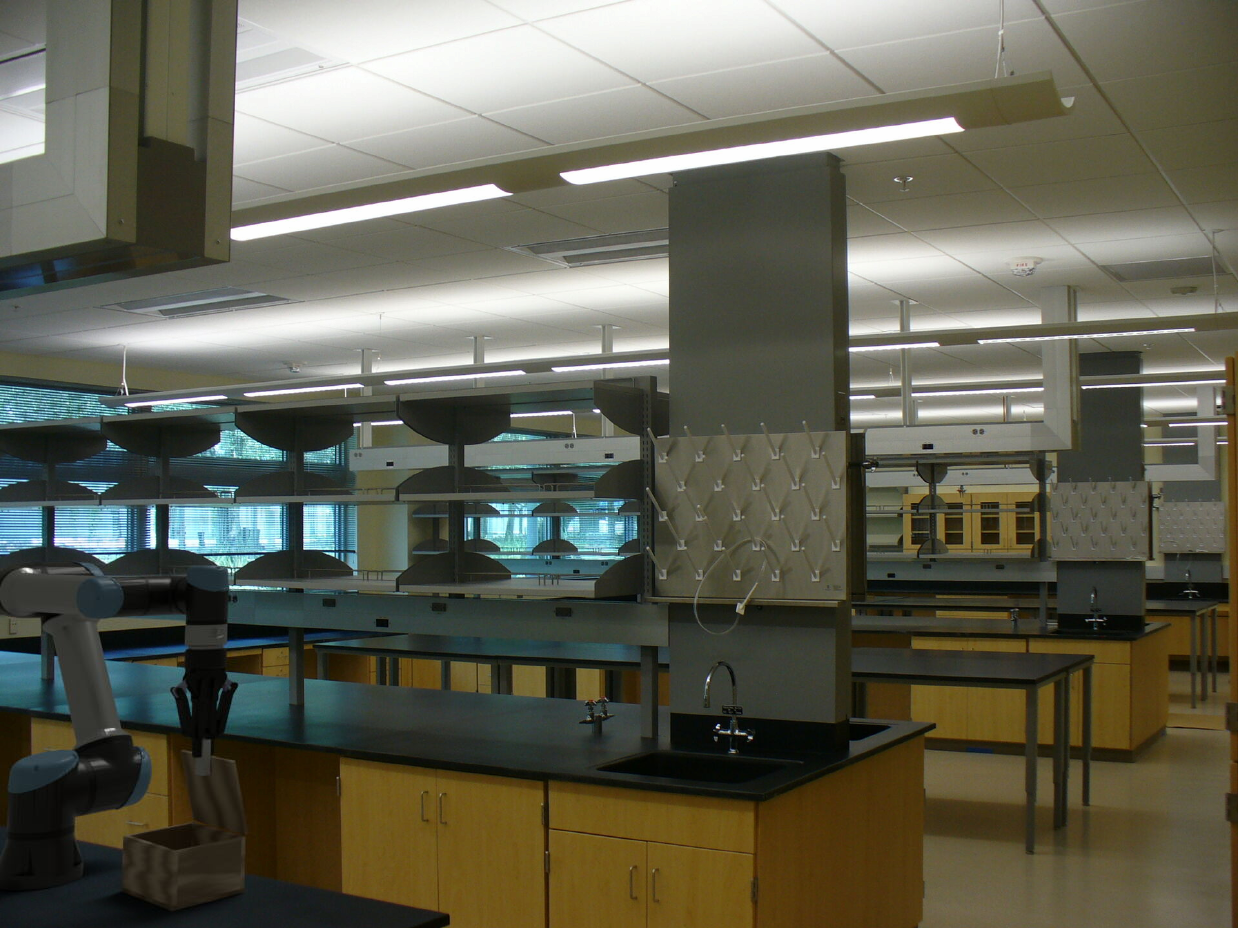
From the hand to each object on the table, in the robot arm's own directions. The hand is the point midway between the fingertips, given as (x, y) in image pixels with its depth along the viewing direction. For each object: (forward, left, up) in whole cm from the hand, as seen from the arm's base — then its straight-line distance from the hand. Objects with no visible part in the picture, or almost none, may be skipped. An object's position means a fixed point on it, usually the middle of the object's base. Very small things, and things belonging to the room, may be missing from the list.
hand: (202, 774), depth 211 cm
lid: (0, +2, -4) cm, 4 cm away
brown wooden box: (0, -3, -21) cm, 21 cm away
